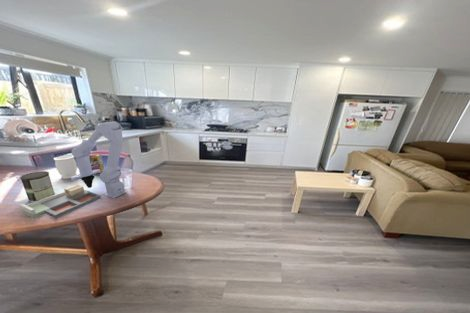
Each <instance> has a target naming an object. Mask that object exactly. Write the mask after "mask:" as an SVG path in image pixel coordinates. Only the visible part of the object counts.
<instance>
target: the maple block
mask: <svg viewBox="0 0 470 313" xmlns="http://www.w3.org/2000/svg"><path fill="white" fill-rule="evenodd" d="M63 190H64V191H65V194H66V195H67V196H69V197H75V196H78V195H80V194H83V193H85V192H84V190H85V189H84V186H82V185H80V184H75V185H72V186H71V185H70V186H68V187H65V188H64V189H63Z"/></svg>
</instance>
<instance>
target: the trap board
mask: <svg viewBox="0 0 470 313" xmlns="http://www.w3.org/2000/svg"><path fill="white" fill-rule="evenodd" d="M84 192H85V193H83V194H80V195H78V196H75V197H69V196H67V195H66V194H65V190H64V191H61V192H59V193H55V195H52V196H50V197H47V198H44V199H41V200H38V201H35V202H30V203H27V204H24V203H21V204H19V206H20V208H21V211H22V214H24V215H27V216H29V217H30V218H32V219H37V218H39V217H41V216H43V215H48V216H50V217H51V218H54V219H56V220H57V219H58V218H60V217H63V216H65V215H68V214H70V213H72V212H74V211H77V210H78V209H81V208H83V207H86V206H88V205H89V204H93V203H95V202H97V201H98V200H101V199H102V196H101V195H100V194H97V193H95V192H91V191H89V190H86V189H84Z"/></svg>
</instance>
